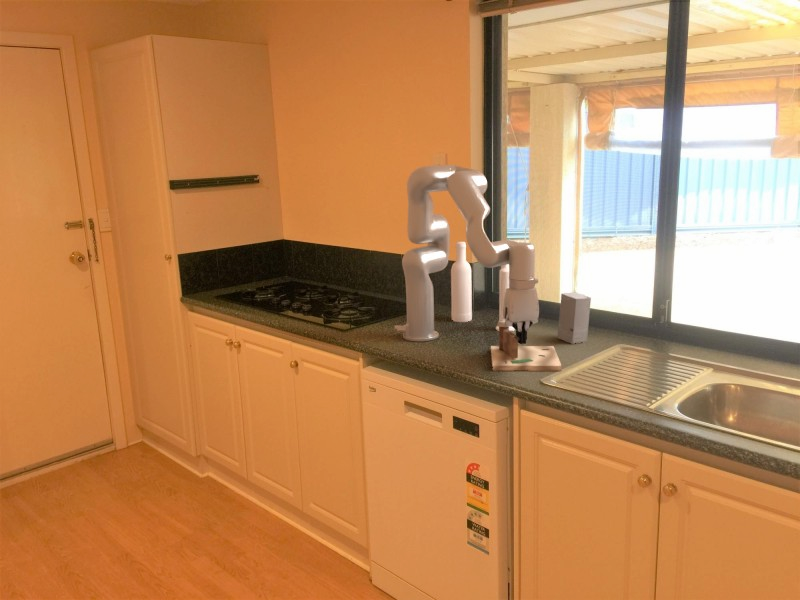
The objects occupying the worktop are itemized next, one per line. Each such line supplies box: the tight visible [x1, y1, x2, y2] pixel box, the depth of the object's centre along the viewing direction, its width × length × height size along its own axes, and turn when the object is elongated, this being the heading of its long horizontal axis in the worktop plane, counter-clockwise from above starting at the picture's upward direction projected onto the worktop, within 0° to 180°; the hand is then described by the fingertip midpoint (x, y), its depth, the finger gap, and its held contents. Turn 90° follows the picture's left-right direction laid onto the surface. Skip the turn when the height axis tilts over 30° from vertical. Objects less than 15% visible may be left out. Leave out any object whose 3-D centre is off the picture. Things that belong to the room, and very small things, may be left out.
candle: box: [495, 264, 516, 332], centre depth 241 cm, size 7×7×25 cm
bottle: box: [450, 241, 473, 323], centre depth 256 cm, size 8×8×30 cm
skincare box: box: [557, 292, 592, 345], centre depth 226 cm, size 8×7×16 cm
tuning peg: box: [497, 320, 520, 359], centre depth 208 cm, size 16×4×9 cm, turn 9°
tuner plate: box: [490, 345, 563, 372], centre depth 208 cm, size 20×20×2 cm
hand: (521, 342), depth 207 cm, fingers closed
